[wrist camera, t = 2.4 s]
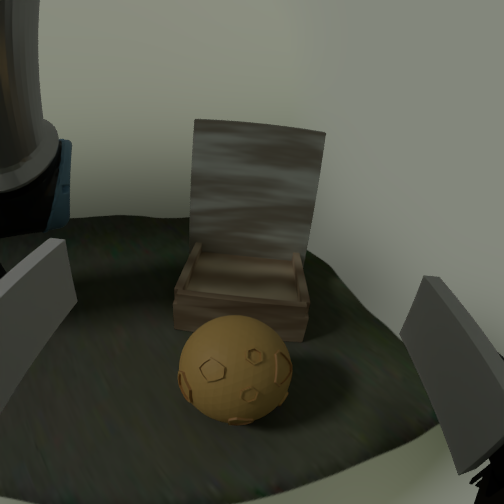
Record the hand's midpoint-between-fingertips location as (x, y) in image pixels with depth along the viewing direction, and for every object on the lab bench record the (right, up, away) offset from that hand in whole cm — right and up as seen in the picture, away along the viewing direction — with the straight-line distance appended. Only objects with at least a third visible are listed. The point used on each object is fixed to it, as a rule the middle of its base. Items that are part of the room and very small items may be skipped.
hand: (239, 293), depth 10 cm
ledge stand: (-1, -6, +33) cm, 33 cm away
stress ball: (-2, -14, +18) cm, 22 cm away
